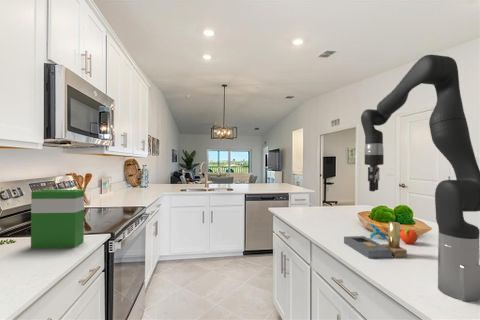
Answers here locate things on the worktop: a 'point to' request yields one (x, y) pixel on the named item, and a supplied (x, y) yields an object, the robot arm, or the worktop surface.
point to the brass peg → (394, 235)
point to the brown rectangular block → (397, 252)
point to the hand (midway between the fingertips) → (373, 190)
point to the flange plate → (368, 247)
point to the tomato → (408, 236)
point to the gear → (376, 232)
